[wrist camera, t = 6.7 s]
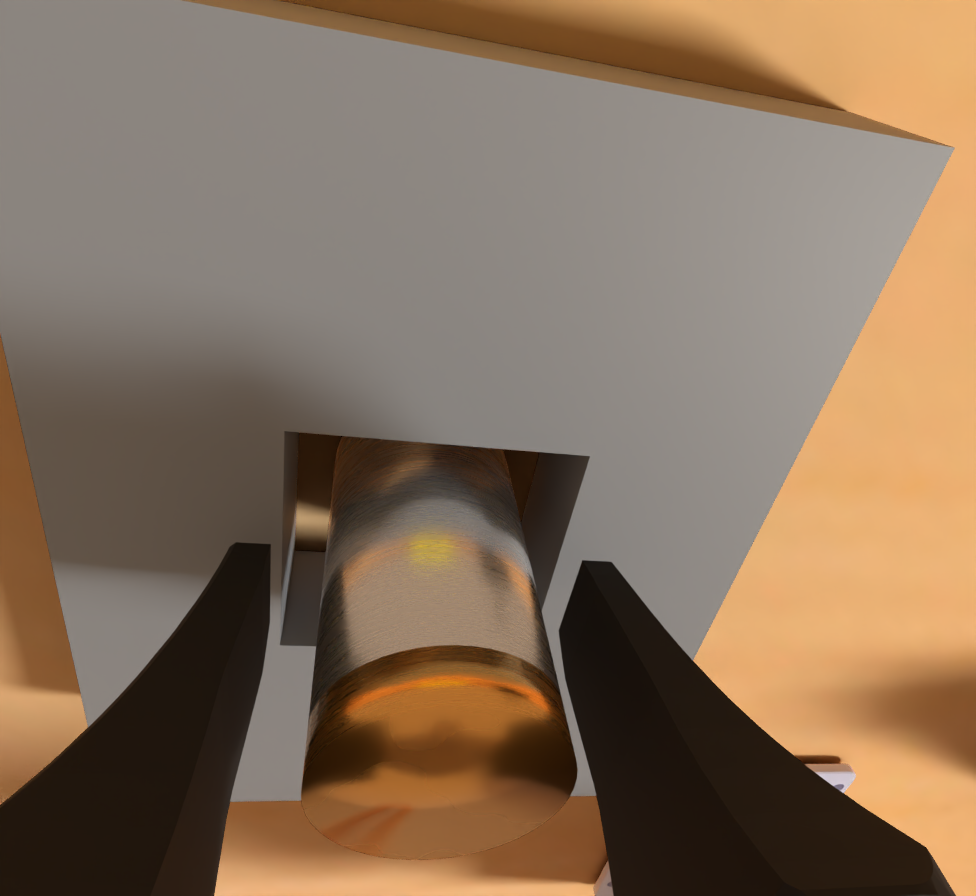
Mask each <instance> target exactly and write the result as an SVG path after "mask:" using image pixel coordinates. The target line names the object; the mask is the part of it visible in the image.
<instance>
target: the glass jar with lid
mask: <svg viewBox="0 0 976 896" xmlns="http://www.w3.org/2000/svg"><path fill="white" fill-rule="evenodd" d="M577 772H578V768H577V762H576V757H575V752H574V748H573V744H572V739H571V735H570V731H569V727H568V722H567V718H566V714H565V709H564V705H563V701H562V697H561V692H560V688H559V684H558V679H557V675H556V671H555V667H554V662H553V658H552V654H551V650H550V645H549V641H548V637H547V632H546V628H545V624H544V620H543V615H542V611H541V607H540V602H539V598H538V594H537V590H536V585H535V581H534V577H533V572H532V568H531V564H530V560H529V555H528V551H527V547H526V542H525V538H524V534H523V530H522V525H521V521H520V517H519V513H518V508H517V504H516V500H515V495H514V491H513V487H512V483H511V478H510V474H509V470H508V465H507V461H506V457H505V453H504V449H496V448H484V447H472V446H460V445H447V444H435V443H423V442H411V441H399V440H386V439H374V438H362V437H350V436H342V438H341V440H340V442H339V445H338V448H337V451H336V459H335V468H334V477H333V487H332V497H331V506H330V516H329V526H328V535H327V545H326V555H325V565H324V574H323V584H322V594H321V603H320V613H319V623H318V632H317V642H316V652H315V662H314V671H313V681H312V691H311V700H310V710H309V720H308V729H307V739H306V749H305V758H304V768H303V778H302V788H301V802H302V807H303V810H304V812H305V815H306V816H307V818H308V820H309V821H310V823H311V824H312V825H313V826H314V827H315V828H316V829H317V830H318V831H319V832H320V833H322V834H323V835H324V836H326V837H327V838H328V839H330V840H332V841H334V842H335V843H337V844H339V845H341V846H344V847H346V848H349V849H351V850H354V851H358V852H361V853H364V854H368V855H373V856H378V857H384V858H392V859H406V860H429V859H442V858H450V857H457V856H463V855H468V854H473V853H477V852H481V851H484V850H488V849H491V848H494V847H497V846H500V845H503V844H506V843H508V842H510V841H513V840H515V839H517V838H520V837H521V836H523V835H525V834H527V833H529V832H531V831H533V830H534V829H536V828H537V827H539V826H540V825H542V824H543V823H545V822H546V821H547V820H549V819H550V818H551V817H552V816H554V815H555V814H556V813H557V812H558V811H559V810H560V809H561V808H562V806H563V805H564V804H565V802H566V801H567V800H568V798H569V797H570V795H571V793H572V791H573V789H574V787H575V783H576V780H577Z"/></svg>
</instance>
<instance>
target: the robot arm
mask: <svg viewBox="0 0 976 896" xmlns="http://www.w3.org/2000/svg"><path fill="white" fill-rule="evenodd" d="M270 572H271V544H260V543H240V542H236V543H234V544H233V545H231V546H230V547H229V549H228V550H227V552H226V554H225V556H224V558H223V560H222V562H221V563H220V565H219V567H218V568H217V570H216V572H215V573H214V575H213V576H212V578H211V580H210V581H209V583H208V584H207V586H206V587H205V589H204V590H203V592H202V593H201V595H200V596H199V598H198V599H197V601H196V602H195V603H194V605H193V606H192V607H191V609H190V610H189V612H188V613H187V614H186V616H185V617H184V618H183V620H182V621H181V622H180V624H179V625H178V627H177V628H176V629H175V631H174V632H173V633H172V634H171V636H170V637H169V638H168V639H167V641H166V642H165V643H164V644H163V646H162V647H161V648H160V649H159V650H158V652H157V653H156V654H155V655H154V656H153V658H152V659H151V660H150V661H149V663H148V664H147V665H146V666H145V667H144V669H143V670H142V671H141V672H140V673H139V674H138V676H137V677H136V678H135V679H134V680H133V681H132V682H131V683H130V685H129V686H128V687H127V688H126V689H125V690H124V691H123V692H122V693H121V694H120V695H119V697H118V698H117V699H116V700H115V701H114V702H113V703H112V704H111V705H110V706H109V707H108V708H107V709H106V710H105V711H104V712H103V713H102V714H101V715H100V716H99V717H98V718H97V719H96V720H95V721H94V722H93V723H92V724H91V725H90V726H89V727H88V728H87V729H86V730H85V731H84V732H83V733H82V734H81V735H80V736H79V737H78V738H77V739H75V740H74V741H73V742H72V743H71V744H70V745H69V746H68V747H67V748H66V749H65V750H64V751H63V752H62V753H61V754H60V755H59V756H57V757H56V758H55V759H54V760H53V761H52V762H51V763H50V764H49V765H47V766H46V767H45V768H44V769H43V770H42V771H41V772H39V773H38V774H37V775H36V776H35V777H33V778H32V779H31V780H30V781H29V782H27V783H26V784H25V785H24V786H23V787H21V788H20V789H19V790H18V791H17V792H16V793H14V794H13V795H12V796H11V797H10V798H8V799H7V800H6V801H5V802H4V803H2V804H1V805H0V896H214V893H215V886H216V880H217V873H218V867H219V861H220V855H221V849H222V843H223V837H224V831H225V824H226V818H227V813H228V809H229V804H230V799H231V795H232V790H233V786H234V782H235V779H236V775H237V771H238V767H239V763H240V759H241V755H242V752H243V748H244V744H245V740H246V736H247V732H248V728H249V725H250V721H251V717H252V713H253V709H254V705H255V701H256V697H257V693H258V689H259V685H260V681H261V677H262V673H263V667H264V660H265V653H266V646H267V639H268V632H269V625H270ZM559 638H560V646H561V654H562V661H563V668H564V674H565V680H566V684H567V688H568V692H569V696H570V699H571V703H572V707H573V711H574V714H575V718H576V722H577V725H578V729H579V733H580V736H581V740H582V743H583V747H584V751H585V754H586V758H587V762H588V765H589V769H590V773H591V776H592V780H593V784H594V788H595V792H596V796H597V801H598V805H599V809H600V815H601V821H602V827H603V833H604V838H605V844H606V850H607V856H608V861H607V863H606V865H605V867H604V868H603V870H602V872H601V874H600V876H599V878H598V880H597V881H596V883H595V885H594V888H593V889H594V894H595V896H956V895H955V893H954V892H953V890H952V889H951V887H950V885H949V884H948V882H947V880H946V879H945V877H944V875H943V874H942V872H941V870H940V869H939V867H938V865H937V864H936V862H935V860H934V859H933V857H932V856H931V854H930V853H929V851H928V850H927V848H926V847H925V846H923V845H921V844H920V843H918V842H917V841H915V840H914V839H912V838H910V837H909V836H907V835H906V834H904V833H903V832H901V831H899V830H898V829H896V828H895V827H893V826H892V825H890V824H888V823H887V822H885V821H884V820H882V819H881V818H879V817H877V816H876V815H874V814H873V813H871V812H870V811H868V810H867V809H865V808H864V807H862V806H861V805H859V804H858V803H856V802H855V801H854V800H852V799H851V798H849V797H848V796H847V795H845V794H844V792H845V791H846V789H847V788H848V787H849V786H850V785H851V783H852V782H853V781H854V779H855V777H856V775H855V772H854V771H853V769H852V767H851V766H850V765H848V764H803V763H802V762H801V761H800V760H799V759H797V758H796V757H795V756H794V755H792V754H791V753H790V752H789V751H787V750H786V749H785V748H784V747H783V746H781V745H780V744H779V743H778V742H776V741H775V740H774V739H773V738H772V737H771V736H769V735H768V734H767V733H766V732H765V731H764V730H763V729H761V728H760V727H759V726H758V725H757V724H756V723H755V722H754V721H753V720H752V719H750V718H749V717H748V716H747V715H746V714H745V713H744V712H743V711H742V710H741V709H740V708H739V707H738V706H736V705H735V704H734V703H733V702H732V701H731V700H730V699H729V698H728V697H727V696H726V695H725V694H724V693H723V692H722V691H721V690H720V689H719V688H718V687H717V686H716V685H715V684H714V683H713V682H712V681H711V680H710V679H709V677H708V676H707V675H706V674H705V673H704V672H703V671H702V670H701V669H700V668H699V667H698V666H697V665H696V664H695V663H694V661H693V660H692V659H691V658H690V657H689V656H688V655H687V654H686V652H685V651H684V650H683V649H682V648H681V647H680V646H679V645H678V643H677V642H676V641H675V640H674V639H673V637H672V636H671V635H670V634H669V633H668V632H667V630H666V629H665V628H664V627H663V626H662V624H661V623H660V622H659V621H658V620H657V618H656V617H655V616H654V615H653V613H652V612H651V611H650V610H649V608H648V607H647V606H646V605H645V603H644V602H643V601H642V600H641V598H640V597H639V596H638V595H637V593H636V592H635V591H634V589H633V588H632V587H631V586H630V584H629V583H628V582H627V581H626V579H625V578H624V577H623V575H622V574H621V573H620V572H619V570H618V569H617V568H616V567H615V565H614V564H613V563H612V562H607V561H588V560H582V563H581V566H580V569H579V572H578V575H577V577H576V580H575V583H574V586H573V589H572V592H571V595H570V598H569V601H568V604H567V607H566V610H565V613H564V616H563V619H562V622H561V625H560V628H559Z"/></svg>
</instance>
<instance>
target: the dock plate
mask: <svg viewBox="0 0 976 896" xmlns="http://www.w3.org/2000/svg"><path fill="white" fill-rule="evenodd" d="M953 150H954V148H953V147H951V146H948V145H945V144H942V143H939V142H936V141H933V140H930V139H927V138H924V137H921V136H918V135H915V134H912V133H909V132H907V131H904V130H901V129H898V128H895V127H892V126H889V125H886V124H883V123H880V122H877V121H874V120H871V119H868V118H866V117H863V116H860V115H857V114H854V113H851V112H846V111H841V110H836V109H831V108H826V107H821V106H816V105H811V104H805V103H800V102H795V101H790V100H785V99H780V98H775V97H770V96H765V95H759V94H754V93H749V92H744V91H739V90H734V89H729V88H724V87H719V86H713V85H708V84H703V83H698V82H693V81H688V80H683V79H678V78H673V77H667V76H662V75H657V74H652V73H647V72H642V71H637V70H632V69H627V68H621V67H616V66H611V65H606V64H601V63H596V62H591V61H586V60H581V59H576V58H570V57H565V56H560V55H555V54H550V53H545V52H540V51H535V50H530V49H524V48H519V47H514V46H509V45H504V44H499V43H494V42H489V41H484V40H478V39H473V38H468V37H463V36H458V35H453V34H448V33H443V32H438V31H432V30H427V29H422V28H417V27H412V26H407V25H402V24H397V23H392V22H386V21H381V20H376V19H371V18H366V17H361V16H356V15H351V14H346V13H340V12H335V11H330V10H325V9H320V8H315V7H310V6H305V5H300V4H295V3H289V2H284V1H279V0H0V334H1V339H2V343H3V348H4V352H5V357H6V361H7V366H8V370H9V375H10V379H11V384H12V388H13V393H14V397H15V402H16V406H17V411H18V415H19V420H20V424H21V429H22V433H23V437H24V442H25V446H26V451H27V455H28V460H29V464H30V469H31V473H32V478H33V482H34V487H35V491H36V496H37V500H38V505H39V509H40V514H41V518H42V523H43V527H44V532H45V536H46V540H47V545H48V549H49V554H50V558H51V563H52V567H53V572H54V576H55V581H56V585H57V590H58V594H59V599H60V603H61V608H62V612H63V617H64V621H65V626H66V630H67V635H68V639H69V643H70V648H71V652H72V657H73V661H74V666H75V670H76V675H77V679H78V684H79V688H80V693H81V697H82V702H83V706H84V711H85V715H86V720H87V724H88V727H89V726H90V725H91V724H92V723H93V722H94V721H95V720H96V719H97V718H98V717H99V716H100V715H101V714H102V713H103V712H104V711H105V710H106V709H107V708H108V707H109V706H110V705H111V704H112V703H113V702H114V701H115V700H116V699H117V698H118V697H119V695H120V694H121V693H122V692H123V691H124V690H125V689H126V688H127V687H128V686H129V685H130V683H131V682H132V681H133V680H134V679H135V678H136V677H137V676H138V674H139V673H140V672H141V671H142V670H143V669H144V667H145V666H146V665H147V664H148V663H149V661H150V660H151V659H152V658H153V656H154V655H155V654H156V653H157V652H158V650H159V649H160V648H161V647H162V646H163V644H164V643H165V642H166V641H167V639H168V638H169V637H170V636H171V634H172V633H173V632H174V631H175V629H176V628H177V627H178V625H179V624H180V622H181V621H182V620H183V618H184V617H185V616H186V614H187V613H188V612H189V610H190V609H191V607H192V606H193V605H194V603H195V602H196V601H197V599H198V598H199V596H200V595H201V593H202V592H203V590H204V589H205V587H206V586H207V584H208V583H209V581H210V580H211V578H212V576H213V575H214V573H215V572H216V570H217V568H218V567H219V565H220V563H221V562H222V560H223V558H224V556H225V554H226V552H227V550H228V549H229V547H230V546H231V545H233V544H234V543H236V542H240V543H260V544H271V572H270V625H269V632H268V639H267V646H266V653H265V660H264V667H263V673H262V677H261V681H260V685H259V689H258V693H257V697H256V701H255V705H254V709H253V713H252V717H251V721H250V725H249V728H248V732H247V736H246V740H245V744H244V748H243V752H242V755H241V759H240V763H239V767H238V771H237V775H236V779H235V782H234V786H233V790H232V795H231V799H230V802H245V801H301V788H302V778H303V768H304V758H305V749H306V739H307V729H308V720H309V710H310V700H311V691H312V681H313V671H314V662H315V652H316V642H317V632H318V623H319V613H320V603H321V594H322V584H323V574H324V565H325V555H326V552H313V551H295V532H296V504H297V475H298V446H299V432H301V433H313V434H325V435H337V436H350V437H362V438H374V439H386V440H399V441H411V442H423V443H435V444H447V445H460V446H472V447H484V448H496V449H508V450H521V451H533V452H540V453H539V457H538V461H537V464H536V468H535V472H534V476H533V479H532V483H531V487H530V491H529V495H528V498H527V502H526V506H525V510H524V514H523V517H522V521H521V525H522V530H523V534H524V538H525V542H526V547H527V551H528V555H529V560H530V564H531V568H532V572H533V577H534V581H535V585H536V590H537V594H538V598H539V602H540V607H541V611H542V615H543V620H544V624H545V628H546V632H547V637H548V641H549V645H550V650H551V654H552V658H553V662H554V667H555V671H556V675H557V679H558V684H559V688H560V692H561V697H562V701H563V705H564V709H565V714H566V718H567V722H568V727H569V731H570V735H571V739H572V744H573V748H574V752H575V757H576V762H577V768H578V772H577V780H576V783H575V787H574V789H573V791H572V793H571V795H570V796H596V792H595V788H594V784H593V780H592V776H591V773H590V769H589V765H588V762H587V758H586V754H585V751H584V747H583V743H582V740H581V736H580V733H579V729H578V725H577V722H576V718H575V714H574V711H573V707H572V703H571V699H570V696H569V692H568V688H567V684H566V680H565V674H564V668H563V661H562V654H561V646H560V638H559V628H560V625H561V622H562V619H563V616H564V613H565V610H566V607H567V604H568V601H569V598H570V595H571V592H572V589H573V586H574V583H575V580H576V577H577V575H578V572H579V569H580V566H581V563H582V560H588V561H607V562H612V563H613V564H614V565H615V567H616V568H617V569H618V570H619V572H620V573H621V574H622V575H623V577H624V578H625V579H626V581H627V582H628V583H629V584H630V586H631V587H632V588H633V589H634V591H635V592H636V593H637V595H638V596H639V597H640V598H641V600H642V601H643V602H644V603H645V605H646V606H647V607H648V608H649V610H650V611H651V612H652V613H653V615H654V616H655V617H656V618H657V620H658V621H659V622H660V623H661V624H662V626H663V627H664V628H665V629H666V630H667V632H668V633H669V634H670V635H671V636H672V637H673V639H674V640H675V641H676V642H677V643H678V645H679V646H680V647H681V648H682V649H683V650H684V651H685V652H686V654H687V655H688V656H689V657H690V658H691V659H692V660H693V659H694V657H695V655H696V654H697V652H698V650H699V648H700V646H701V644H702V642H703V640H704V638H705V636H706V634H707V632H708V630H709V628H710V626H711V624H712V622H713V620H714V618H715V616H716V614H717V612H718V610H719V608H720V607H721V605H722V603H723V601H724V599H725V597H726V595H727V593H728V591H729V589H730V587H731V585H732V583H733V581H734V579H735V577H736V575H737V573H738V571H739V569H740V567H741V565H742V563H743V561H744V560H745V558H746V556H747V554H748V552H749V550H750V548H751V546H752V544H753V542H754V540H755V538H756V536H757V534H758V532H759V530H760V528H761V526H762V524H763V522H764V520H765V518H766V516H767V514H768V513H769V511H770V509H771V507H772V505H773V503H774V501H775V499H776V497H777V495H778V493H779V491H780V489H781V487H782V485H783V483H784V481H785V479H786V477H787V475H788V473H789V471H790V469H791V467H792V466H793V464H794V462H795V460H796V458H797V456H798V454H799V452H800V450H801V448H802V446H803V444H804V442H805V440H806V438H807V436H808V434H809V432H810V430H811V428H812V426H813V424H814V422H815V420H816V419H817V417H818V415H819V413H820V411H821V409H822V407H823V405H824V403H825V401H826V399H827V397H828V395H829V393H830V391H831V389H832V387H833V385H834V383H835V381H836V379H837V377H838V375H839V373H840V372H841V370H842V368H843V366H844V364H845V362H846V360H847V358H848V356H849V354H850V352H851V350H852V348H853V346H854V344H855V342H856V340H857V338H858V336H859V334H860V332H861V330H862V328H863V326H864V325H865V323H866V321H867V319H868V317H869V315H870V313H871V311H872V309H873V307H874V305H875V303H876V301H877V299H878V297H879V295H880V293H881V291H882V289H883V287H884V285H885V283H886V281H887V279H888V278H889V276H890V274H891V272H892V270H893V268H894V266H895V264H896V262H897V260H898V258H899V256H900V254H901V252H902V250H903V248H904V246H905V244H906V242H907V240H908V238H909V236H910V234H911V232H912V231H913V229H914V227H915V225H916V223H917V221H918V219H919V217H920V215H921V213H922V211H923V209H924V207H925V205H926V203H927V201H928V199H929V197H930V195H931V193H932V191H933V189H934V187H935V185H936V184H937V182H938V180H939V178H940V176H941V174H942V172H943V170H944V168H945V166H946V164H947V162H948V160H949V158H950V156H951V154H952V152H953Z"/></svg>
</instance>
